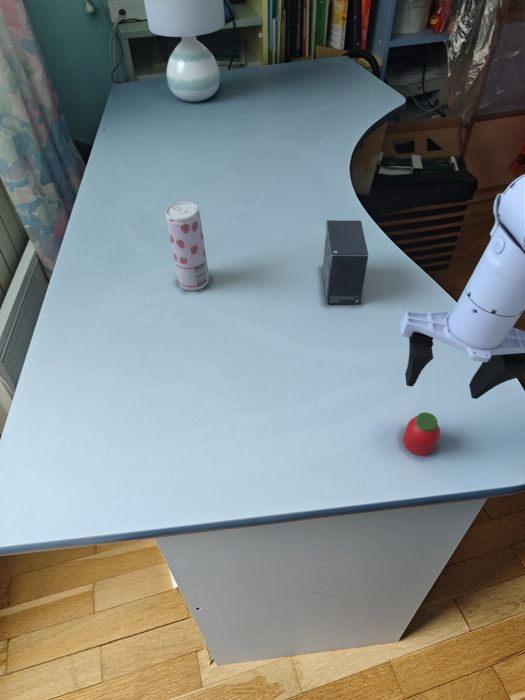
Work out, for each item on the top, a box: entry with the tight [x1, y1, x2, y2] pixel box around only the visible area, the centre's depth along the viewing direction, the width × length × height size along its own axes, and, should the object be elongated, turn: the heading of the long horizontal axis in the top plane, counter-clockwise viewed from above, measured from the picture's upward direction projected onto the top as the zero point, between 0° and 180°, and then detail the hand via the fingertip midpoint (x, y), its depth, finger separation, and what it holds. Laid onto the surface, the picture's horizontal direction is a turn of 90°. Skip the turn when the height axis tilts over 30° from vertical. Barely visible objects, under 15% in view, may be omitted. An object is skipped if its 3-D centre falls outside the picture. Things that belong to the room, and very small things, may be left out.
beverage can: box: [165, 201, 210, 292], centre depth 84 cm, size 6×6×15 cm
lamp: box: [143, 0, 226, 103], centre depth 138 cm, size 22×22×40 cm
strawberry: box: [402, 411, 441, 457], centre depth 63 cm, size 4×4×5 cm
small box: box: [321, 219, 370, 305], centre depth 84 cm, size 11×6×10 cm, turn 179°
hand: (440, 386), depth 57 cm, fingers open, 7 cm apart
